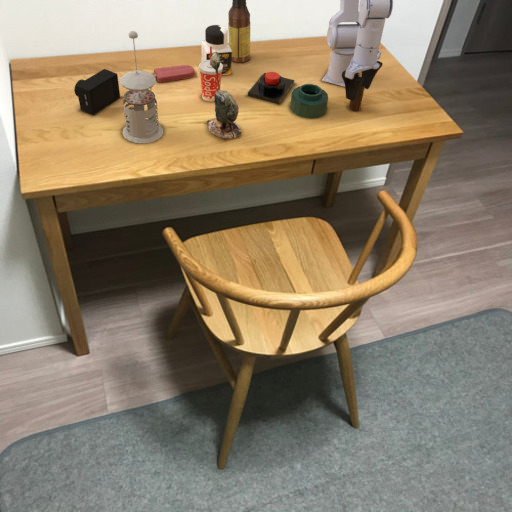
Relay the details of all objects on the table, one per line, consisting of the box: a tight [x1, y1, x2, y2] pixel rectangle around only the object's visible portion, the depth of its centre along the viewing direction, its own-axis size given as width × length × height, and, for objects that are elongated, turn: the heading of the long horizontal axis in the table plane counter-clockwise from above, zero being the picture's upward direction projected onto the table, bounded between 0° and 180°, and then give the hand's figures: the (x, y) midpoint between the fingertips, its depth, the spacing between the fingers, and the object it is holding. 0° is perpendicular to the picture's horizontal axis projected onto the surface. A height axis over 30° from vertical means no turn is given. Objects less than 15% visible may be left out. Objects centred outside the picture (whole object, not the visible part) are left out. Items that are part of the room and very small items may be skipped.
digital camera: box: [73, 68, 121, 116], centre depth 142 cm, size 10×5×7 cm, turn 149°
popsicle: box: [153, 64, 195, 83], centre depth 155 cm, size 5×2×15 cm
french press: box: [118, 30, 164, 144], centre depth 129 cm, size 10×12×25 cm
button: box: [265, 71, 281, 85], centre depth 152 cm, size 4×4×2 cm
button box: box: [247, 72, 296, 105], centre depth 153 cm, size 12×9×3 cm
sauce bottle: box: [227, 0, 251, 63], centre depth 158 cm, size 7×6×20 cm
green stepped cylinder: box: [289, 83, 329, 119], centre depth 147 cm, size 9×9×6 cm
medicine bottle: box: [200, 24, 233, 76], centre depth 156 cm, size 7×7×12 cm
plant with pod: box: [206, 52, 243, 140], centre depth 132 cm, size 8×11×20 cm
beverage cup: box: [198, 46, 223, 103], centre depth 145 cm, size 6×6×14 cm
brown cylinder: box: [348, 82, 365, 112], centre depth 148 cm, size 3×3×7 cm
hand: (357, 93), depth 147 cm, fingers open, 7 cm apart
